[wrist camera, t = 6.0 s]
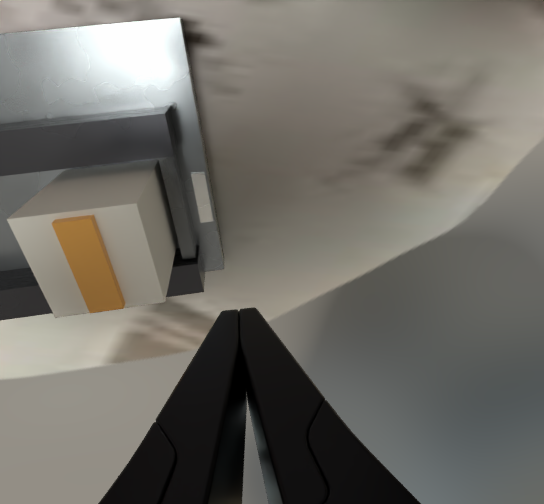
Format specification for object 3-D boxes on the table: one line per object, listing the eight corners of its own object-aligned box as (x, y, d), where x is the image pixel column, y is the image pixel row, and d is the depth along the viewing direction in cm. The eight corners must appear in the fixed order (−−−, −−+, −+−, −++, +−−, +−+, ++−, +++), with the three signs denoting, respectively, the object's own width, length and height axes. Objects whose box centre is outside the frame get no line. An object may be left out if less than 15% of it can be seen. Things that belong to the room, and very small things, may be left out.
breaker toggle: (158, 159, 16) (134, 206, 12) (177, 239, 18) (163, 307, 14) (64, 170, 16) (1, 223, 11) (94, 250, 18) (51, 323, 13)
